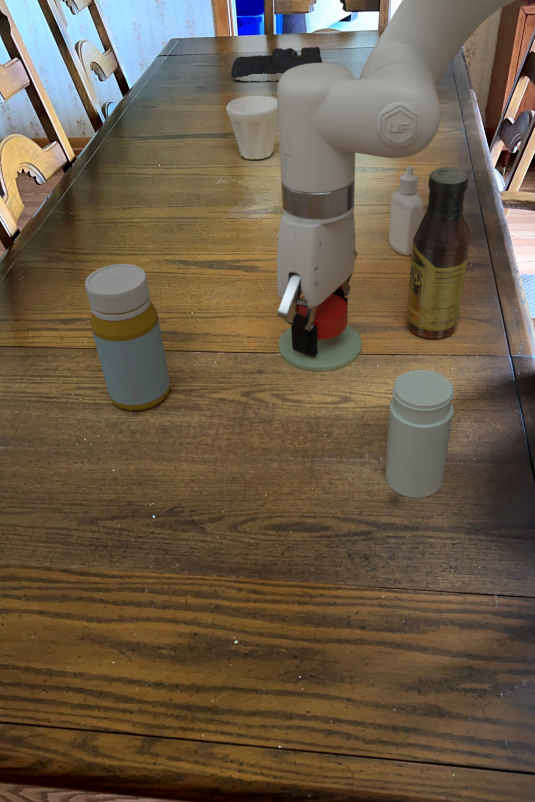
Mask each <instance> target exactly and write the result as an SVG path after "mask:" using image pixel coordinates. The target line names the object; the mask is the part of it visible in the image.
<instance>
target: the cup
mask: <svg viewBox="0 0 535 802" xmlns="http://www.w3.org/2000/svg"><path fill="white" fill-rule="evenodd" d="M225 111H226V114H227V116H228V118H229V120H230V124H231V127H232V130H233V135H234V137H235V140H236V144H237V148H238V151H239V154H240V156H241V157H242V156H243V157H244V158H259V157H264V156H267V155H269V154H270V153H272V152H273V153H274V148H275V143H276V136H277V130H278V105H277V97H274V96H268V95H250V96H242V97H238V98H235V99H232V100H231V101H229V102H228V103H227V105H226V107H225ZM244 158H243V159H244Z"/></svg>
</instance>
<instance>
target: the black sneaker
mask: <svg viewBox="0 0 535 802" xmlns="http://www.w3.org/2000/svg"><path fill="white" fill-rule="evenodd" d="M271 53H272V54H271V55H269V54H268V55H250V56H238V57H236V58H235V59H234V61H232V65H231V78H232V77H234V78H237V77H243V76H248V75H251V74H263V73H264V74H265V73H266V74H276V73H281V74H282V73H285V72H286V71H287V70H289V69H291V68H293V67H296V66H299V65H303V64H310V63H323V59H322V56H321V48H320V47H319V46H315V47H314V46H313V47H312V46H308V47H301V49H300V54H298V52H297V51H296V50H294V48H292V47H289V48H284V49H283V48H281V47H276V48H274V49H272V52H271Z"/></svg>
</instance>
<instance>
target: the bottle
mask: <svg viewBox="0 0 535 802" xmlns="http://www.w3.org/2000/svg"><path fill="white" fill-rule="evenodd" d="M84 282H85V283H84V288H85V292H86V296H87V300H88V304H89V306H90V309H91V315H90V328H91V332H92V337H93V340H94V345H95V347H96V352H97V355H98V358H99V359H98V360H99V363H100V366H101V371H102V375H103V379H104V384H105V387H106V391H107V394H108V397H109V399H110V401H111V402H112V403H113V404H114V405H115V406H117V407H119V408H121V409H122V410H126V411H130V412H139V411H145V410H149V409H152V408H154V407H156V406H157V405H159V404H161V403H162V401H163V400H164V399H166V397H167V396H168V395H169V393H170V390H171V380H170V379H171V378H170V374H169V368H168V362H167V357H166V352H165V347H164V341H163V336H162V330H161V325H160V318H159V314H158V310H157V308H156V307H155V305H154V304H153V302H152V300H151V299H152V298H151V294H150V287H149V282H148V278H147V274H146V272H145V270H144V269H143V268H141V267H140V266H138V265H134V264H130V263H114V264H110V265H106V266H102V267H100V268H97V269H95V270H94V271H93V272H91V273H90V274H88V276H87V277H86V278H85V281H84Z"/></svg>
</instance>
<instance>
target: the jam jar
mask: <svg viewBox="0 0 535 802" xmlns="http://www.w3.org/2000/svg"><path fill="white" fill-rule="evenodd" d="M454 395H455V390H454V386H453V385H452V383H451V381H450V380H449V378H447V377H446V376H445V375H443V374H441V373H439V372H437V371H434V370H430V369H413V370H409V371H405V372H403V373H401V374H400V375H399V376H397V377H396V378H395V380H394V384H393V387H392V397H391V398H390V401H389V406H388V420H387V421H388V422H387V434H386V435H387V436H386V437H387V439H386V448H385V449H386V452H385V466H384V479H385V482H386V483H387V485H388V487H390V489H391V490H393V491H394V492H396V493H397V494H399V495H401V496H404V497H407V498H411V499H418V498H419V499H420V498H427V497H430V496H432V495H434V494H436V493H437V492H439V490H440V489H442V486H443V484H444V481H445V473H446V466H447V461H448V460H447V459H448V453H449V446H450V438H451V431H452V425H453V419H454V412H455V411H454V410H455V407H454V404H453V402H452V400H453V399H454Z"/></svg>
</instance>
